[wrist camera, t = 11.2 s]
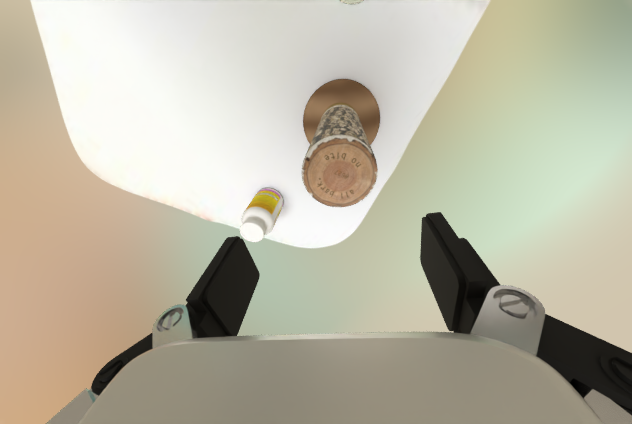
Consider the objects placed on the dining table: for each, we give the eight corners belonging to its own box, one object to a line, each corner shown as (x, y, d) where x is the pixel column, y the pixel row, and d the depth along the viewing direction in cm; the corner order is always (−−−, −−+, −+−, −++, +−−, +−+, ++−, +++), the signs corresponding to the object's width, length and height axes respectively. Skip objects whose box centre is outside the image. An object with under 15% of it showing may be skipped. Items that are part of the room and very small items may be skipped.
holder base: (296, 89, 40) (271, 99, 26) (376, 70, 37) (396, 69, 23) (312, 163, 47) (300, 202, 33) (381, 152, 45) (399, 189, 30)
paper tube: (347, 147, 44) (353, 217, 22) (315, 131, 43) (290, 190, 21) (365, 112, 40) (393, 157, 19) (331, 95, 39) (320, 121, 18)
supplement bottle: (252, 188, 52) (229, 219, 41) (280, 185, 51) (263, 216, 40) (260, 212, 55) (241, 246, 45) (286, 210, 54) (272, 245, 43)
